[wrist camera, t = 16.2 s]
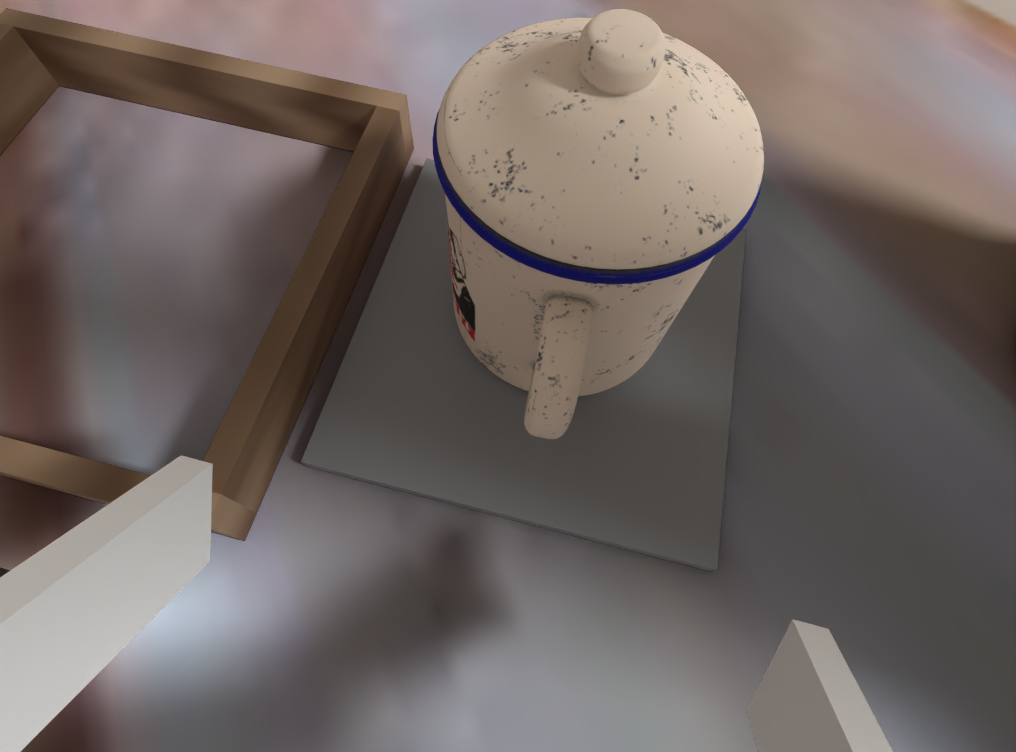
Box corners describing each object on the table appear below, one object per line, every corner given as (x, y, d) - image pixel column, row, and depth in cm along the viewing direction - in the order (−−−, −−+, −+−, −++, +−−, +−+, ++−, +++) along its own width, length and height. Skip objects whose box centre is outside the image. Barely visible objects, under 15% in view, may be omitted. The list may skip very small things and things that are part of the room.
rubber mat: (740, 238, 26) (746, 230, 25) (710, 571, 20) (717, 569, 19) (427, 168, 27) (426, 158, 26) (305, 466, 21) (300, 461, 20)
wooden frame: (413, 148, 27) (406, 95, 24) (244, 541, 19) (206, 526, 17) (51, 68, 28) (6, 8, 26) (-246, 409, 21) (-358, 375, 18)
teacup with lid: (472, 201, 25) (468, -110, 15) (673, 236, 25) (817, -54, 14) (405, 456, 20) (326, 265, 10) (655, 502, 20) (855, 359, 9)
